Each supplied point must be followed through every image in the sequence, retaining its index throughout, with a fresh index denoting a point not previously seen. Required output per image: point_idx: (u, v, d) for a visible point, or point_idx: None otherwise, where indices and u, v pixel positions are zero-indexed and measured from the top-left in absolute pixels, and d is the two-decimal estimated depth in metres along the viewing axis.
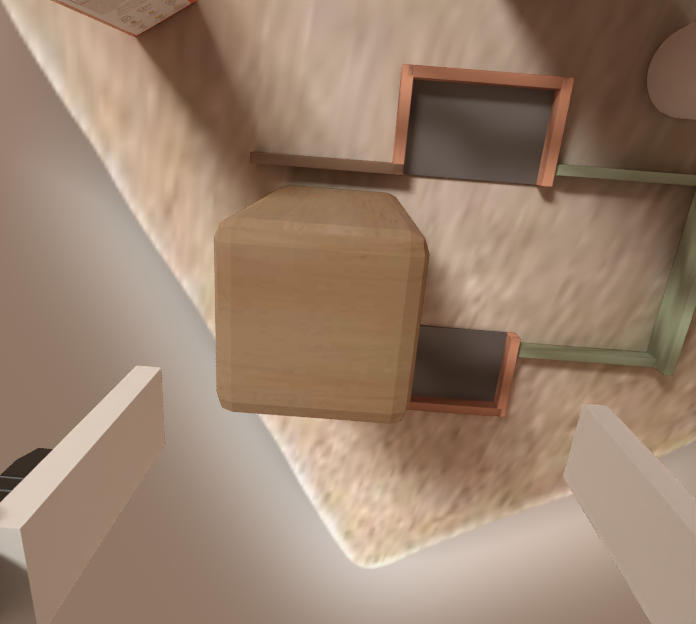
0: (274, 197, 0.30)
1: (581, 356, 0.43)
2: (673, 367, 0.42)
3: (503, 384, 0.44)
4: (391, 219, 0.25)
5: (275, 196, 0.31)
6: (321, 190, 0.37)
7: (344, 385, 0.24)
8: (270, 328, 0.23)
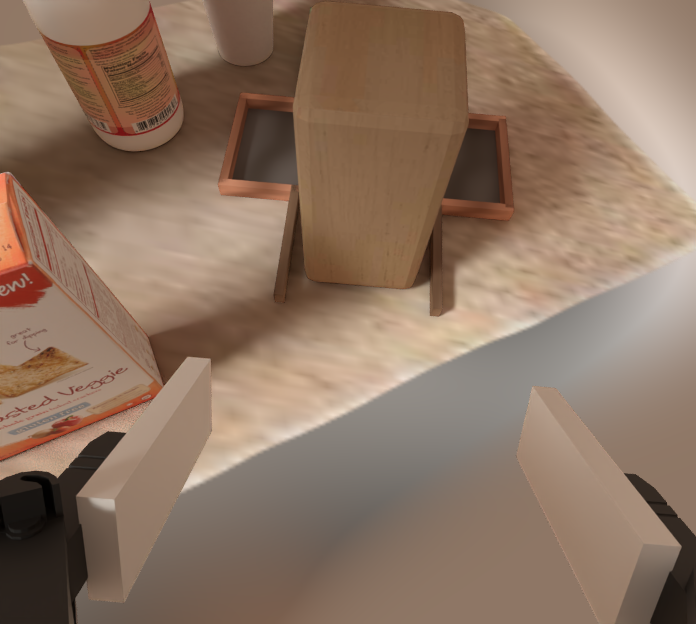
0: None
1: None
2: None
3: (475, 118, 0.52)
4: None
5: None
6: None
7: (430, 38, 0.29)
8: (382, 77, 0.27)
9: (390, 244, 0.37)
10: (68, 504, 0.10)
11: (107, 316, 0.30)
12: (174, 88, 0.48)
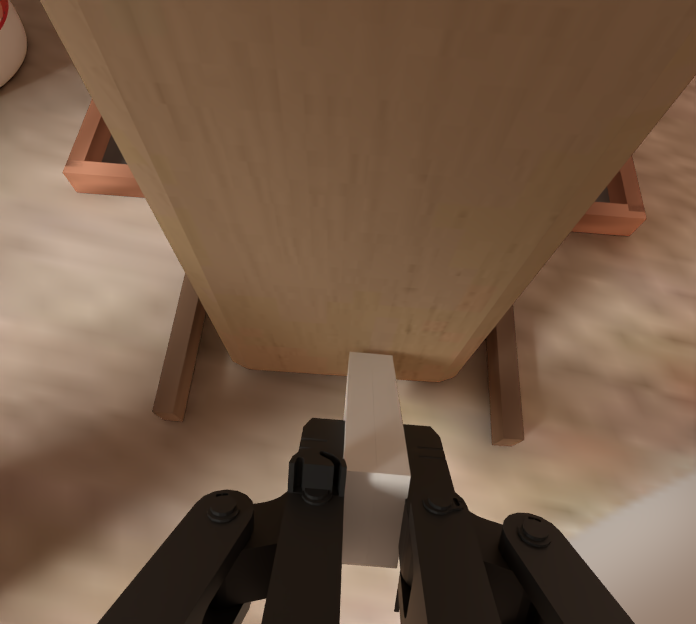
0: None
1: None
2: None
3: None
4: None
5: None
6: None
7: None
8: None
9: (416, 311, 0.14)
10: None
11: None
12: None
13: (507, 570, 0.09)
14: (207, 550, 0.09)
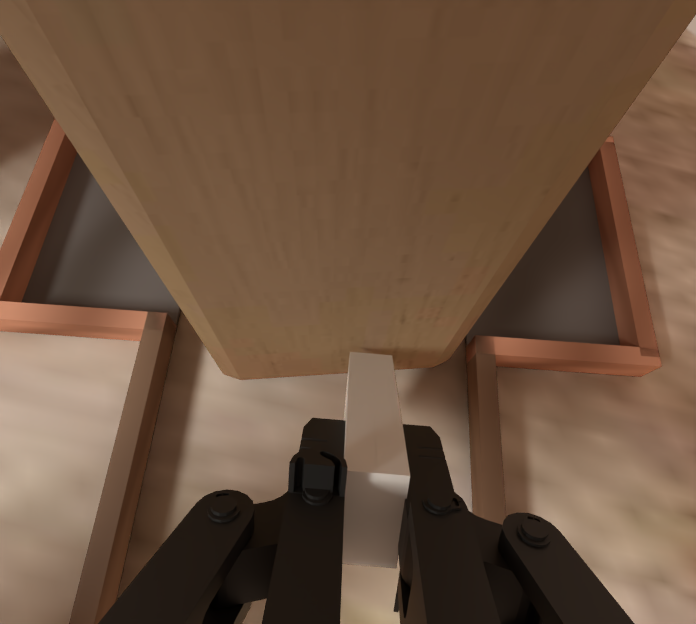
0: None
1: None
2: None
3: None
4: None
5: None
6: None
7: None
8: None
9: (410, 301, 0.14)
10: None
11: None
12: None
13: (507, 571, 0.09)
14: (208, 550, 0.09)
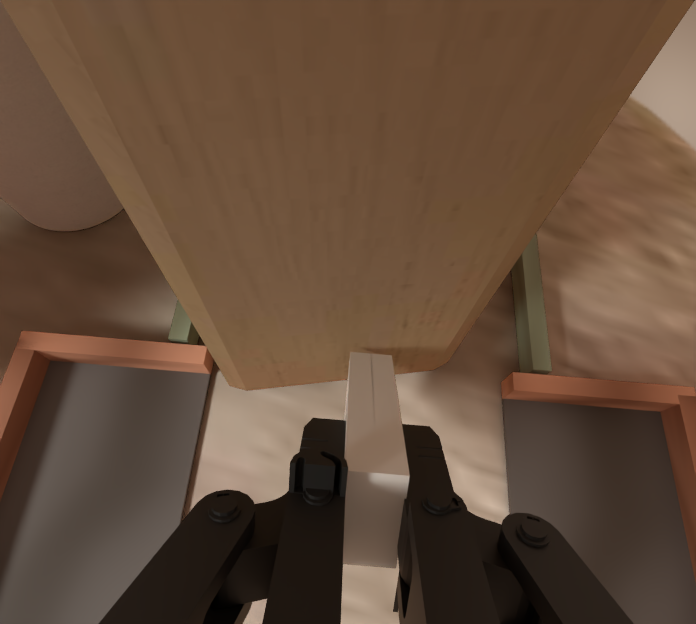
0: None
1: (529, 260, 0.23)
2: None
3: (619, 396, 0.21)
4: None
5: None
6: None
7: None
8: None
9: (412, 306, 0.15)
10: None
11: None
12: None
13: (506, 570, 0.09)
14: (208, 550, 0.09)
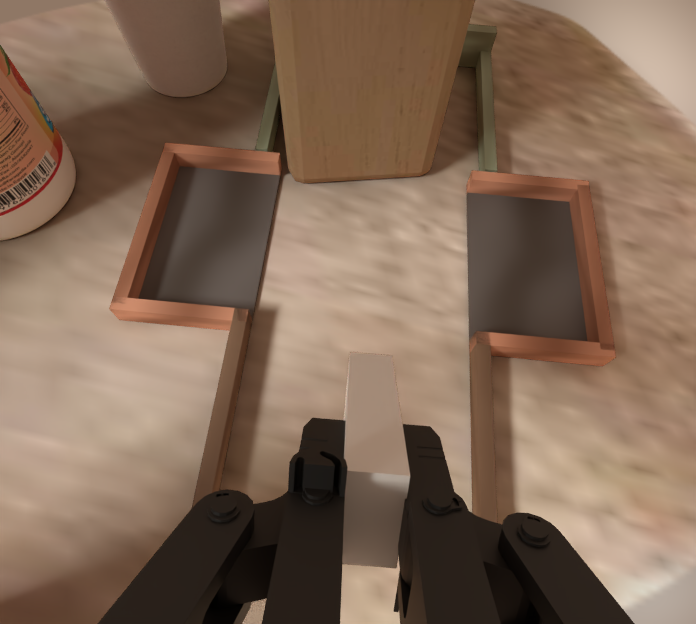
0: None
1: (487, 111, 0.35)
2: (486, 27, 0.37)
3: (539, 184, 0.32)
4: None
5: None
6: None
7: None
8: None
9: (404, 90, 0.27)
10: None
11: None
12: (45, 142, 0.29)
13: (507, 570, 0.09)
14: (207, 550, 0.09)
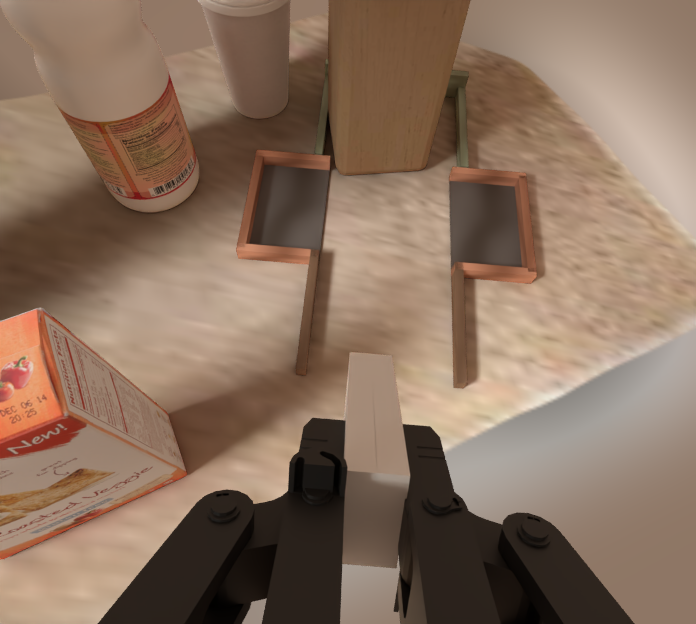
0: (337, 90, 0.43)
1: (462, 128, 0.54)
2: (462, 72, 0.56)
3: (495, 175, 0.51)
4: None
5: (337, 96, 0.44)
6: (333, 129, 0.51)
7: None
8: None
9: (411, 119, 0.46)
10: None
11: (134, 423, 0.29)
12: (191, 150, 0.47)
13: (507, 570, 0.09)
14: (207, 550, 0.09)
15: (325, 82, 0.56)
